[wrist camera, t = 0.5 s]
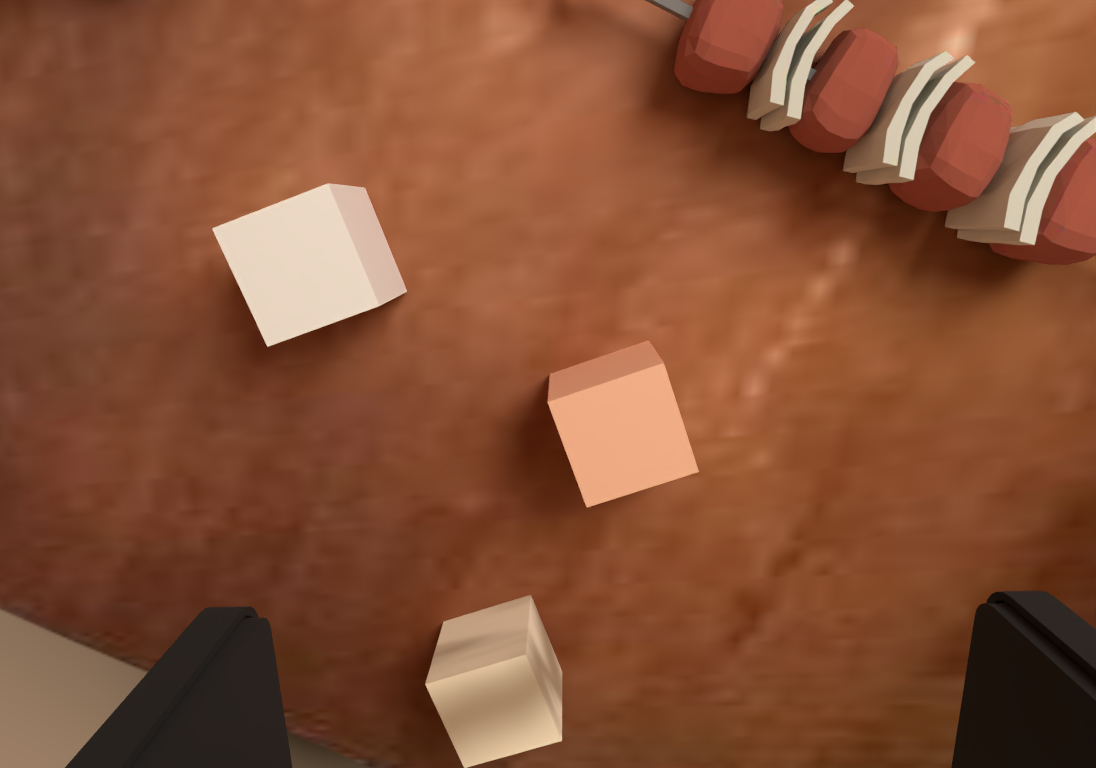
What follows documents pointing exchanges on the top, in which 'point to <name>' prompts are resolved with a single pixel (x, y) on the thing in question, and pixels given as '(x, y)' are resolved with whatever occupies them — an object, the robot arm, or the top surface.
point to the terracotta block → (620, 424)
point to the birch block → (497, 682)
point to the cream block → (310, 261)
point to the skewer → (902, 124)
